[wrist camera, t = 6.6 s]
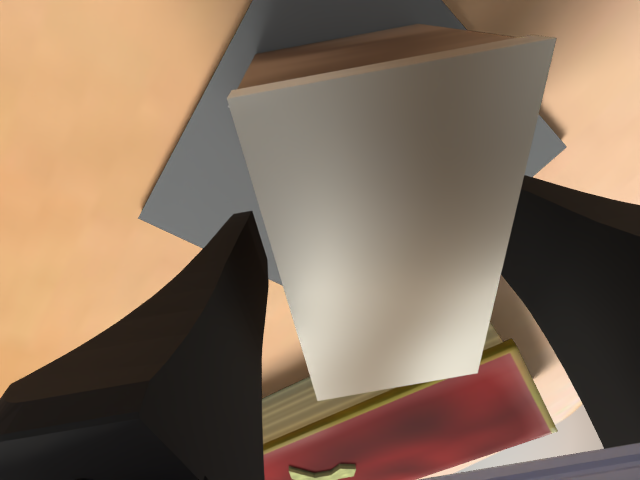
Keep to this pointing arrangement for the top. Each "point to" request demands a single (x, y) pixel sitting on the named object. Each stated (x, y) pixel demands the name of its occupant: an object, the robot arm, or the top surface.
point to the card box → (391, 192)
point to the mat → (219, 129)
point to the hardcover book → (404, 423)
